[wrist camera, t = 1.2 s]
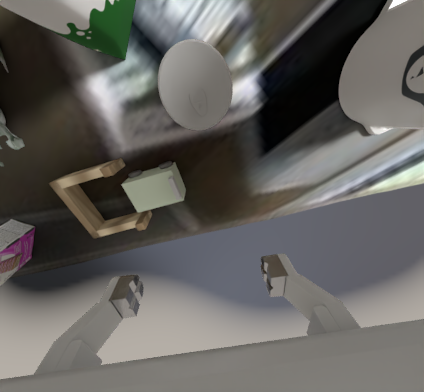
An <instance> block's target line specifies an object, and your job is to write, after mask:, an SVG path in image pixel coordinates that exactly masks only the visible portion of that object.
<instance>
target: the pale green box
mask: <svg viewBox="0 0 424 392" xmlns="http://www.w3.org/2000/svg"><path fill="white" fill-rule="evenodd" d="M128 176H129V178H128V179H127V180H125V181H124V182H123V183H122V184H121V185H122V187H123V189H124V190H125V192H126V194H127V195H128V197H129V199H130V200H131V202H132V204H133V205H134V207H135V209H136V210H137V212H138V213H139V212H143V211H147V210H150V209H154V208H158V207H162V206H165V205H169V204H173V203H176V202H180V201H184V197H185V192H186V188H185V186H184V183H183V181H182V178H181V176H180V173H179V171H178V168H177V166H176V163H175V162H174V163H172V161H166V162H164V163H161V164H160V165H159V167H157V168H154V169H150V170H147V171H143V172H142V171H141V170H136V171H133V172H131V173H129V174H128Z"/></svg>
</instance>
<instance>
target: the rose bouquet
mask: <svg viewBox="0 0 424 392" xmlns="http://www.w3.org/2000/svg"><path fill="white" fill-rule="evenodd" d="M0 61H1V62H2V63H3V66H4V67H5V69H6V70H7V72H8V69H7V66H6V63H5V60H4V57H3V55H2V52H1V49H0ZM8 73H9V72H8ZM5 124H6V120H5V117H4V115H3V113H2V111H1V109H0V136H2V135H6V136H7V138H8V139H9V141H6V143H7V144H8V145H9V146H10V147H11V148H13V149H15V150H19V149H20V148H22V147H24V146H25V145H24V144H23V140H22V139H21V138H19V137H17V136H15V135H14V134H12V133H11V132H10V131H9V129H8V128H7V127H6V125H5ZM0 149H2V148H1V146H0ZM0 166H2V167H4V164H3V163H2V162H0Z"/></svg>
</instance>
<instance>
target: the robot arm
mask: <svg viewBox="0 0 424 392" xmlns="http://www.w3.org/2000/svg"><path fill="white" fill-rule="evenodd" d="M339 100H340V104H341V107H342V109H343V111H344V113H345V114H346V115H347V116H348V117H349V118H350V119H352V120H354V121H356V122H359V123H361V124H362V125H364V127H365V129H366V130H367V132H368V133H369V134H372V135H379V134H381V133H384V132H386V131H388V130H390V129H392V128H404V129H424V0H388V1H387V2H386V4H385V6H384V7H383V9H382V11H381V13H380V15H379V17H378V18H377V19H376V21H375V22H374V23H373V24H372V25H371V26H370V27H369V28H368V29H367V30H366V31H365V32H364V34H363V35H362V36H361V37H360V38H359V40H358V41H357V42H356V44H355V45H354V47H353V48H352V50H351V52H350V53H349V55H348V57H347V59H346V62H345V64H344V67H343V69H342V73H341V76H340V81H339ZM261 262H262V265H261V273H262V277H263V280H264V281H265V282H266V287H267V290H268V292H269V295H270V297H277V296H284V297H285V298H286V299H287V300H289V302H290V303H292V305H294V307H296V308H297V309H298V310H299V311H300V312H301V313H302V314H303V315H304V316H305V317H306V318H307V319H308V320H309V321H310V323H309V326H308V330H307V334H308V336H302V337H296V338H288V339H281V340H274V341H267V342H260V343H253V344H246V345H239V346H232V347H224V348H218V349H210V350H203V351H197V352H189V353H182V354H176V355H168V356H161V357H154V358H147V359H141V360H133V361H126V362H120V363H112V364H105V365H101V363H102V360H101V359H100V358H99V357H98V356H97V355H96V353H97V352H98V351H99V349H100V348H101V347H102V345H103V344H104V343H105V342H106V340H107V339H108V338H109V336H110V335H111V334H112V333H113V331H114V330H115V329H116V327H117V326H118V325H119V323H120V322H121V321H122V319H123V318H128V317H134V316H137V312H138V309H139V306H140V304H139V300H140V299H141V298H142V296H143V289H144V287H143V284H142V282H141V281H139V278H140V277H139V276H138V275H137V274H136V275H127V276H119V277H113V278H112V279H111V281H110V283H109V285H108V287H107V289H106V291H105V293H104V294H103V296H102V298H101V300H100V302H99V303H97V304H95V305H94V306H93V307H92V308H91V309H90V310H89V311H88V312H86V314H84V315H83V316H82V317H81V318H80V319H79V320H78V321H77V322H76V323H74V324H73V325H72V326H71V327H70V328H69V329H68V330H67V331H66V332H65V333H63V334H62V335H61V336H60V337H59V338H58V339H57V340H56V341H55V342H54V343H53V344H52V346H51V348H50V349H49V351H48V353H47V354H46V356H45V357H44V359H43V360H42V362H41V364H40V365H39V367H38V369H37V370H36V372H35V373H34V375H28V376H21V377H14V378H7V379H1V380H0V392H424V319H421V320H415V321H408V322H401V323H393V324H386V325H380V326H372V327H365V328H360V326H359V325H358V323H357V322H356V321H355V319H354V318H353V317H352V315H351V314H350V313H349V311H348V310H347V308H346V307H345V306H344V304H343V303H342V302H341V301H340V300H338V299H337V298H335V297H333V296H332V295H330V294H329V293H327V292H326V291H324V290H323V289H321V288H320V287H318V286H317V285H315V284H314V283H312V282H311V281H309V280H308V279H306V278H305V277H303V276H302V275H298V274H297V273H296V271H295V269H294V268H293V266H292V264H291V263H290V261H289V259H288V258H287V256H286V255H285V254H284V253H283V254H276V255H269V256H263V257H261Z"/></svg>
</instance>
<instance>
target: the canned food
mask: <svg viewBox="0 0 424 392" xmlns="http://www.w3.org/2000/svg"><path fill="white" fill-rule="evenodd" d="M158 90H159V95H160V98H161V101H162V104H163V106H164V108H165V110H166V111H167V113H168V114H169V115H170V117H171V118H172V119H173V120H174V121H175V122H176V123H178V124H179V125H181V126H182V127H184V128H187V129H190V130H195V131H201V130H206V129H210V128H212V127H213V126H215V125H216V124H218V123H219V122H220V121H221V120H222V119H223V117H224V116H225V115H226V113H227V111H228V109H229V106H230V103H231V99H232V79H231V74H230V71H229V68H228V65H227V64H226V62H225V60H224V58H223V57H222V56H221V54H220V53H219V52H218V51H217V50H216V49H215V48H214V47H212V46H211V45H210V44H208V43H206V42H204V41H200V40H196V39H191V40H184V41H181V42H179V43H177V44H175V45H174V46H172V47H171V48H170V49H169V51H168V52H167V53H166V54H165V56H164V58H163V60H162V62H161V65H160V68H159V73H158Z"/></svg>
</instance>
